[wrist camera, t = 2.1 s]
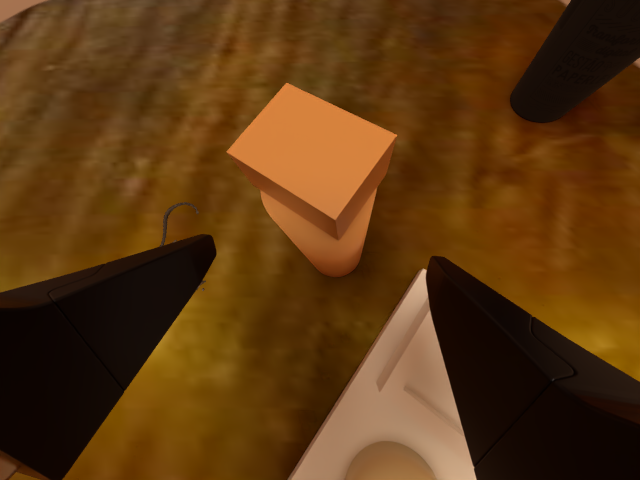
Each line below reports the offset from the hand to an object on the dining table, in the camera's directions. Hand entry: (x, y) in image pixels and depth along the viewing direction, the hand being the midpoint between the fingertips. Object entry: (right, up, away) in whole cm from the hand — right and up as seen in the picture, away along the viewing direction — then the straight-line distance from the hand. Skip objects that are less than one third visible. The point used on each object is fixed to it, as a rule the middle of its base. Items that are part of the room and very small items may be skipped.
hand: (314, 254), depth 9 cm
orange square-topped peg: (+2, 0, +11) cm, 11 cm away
